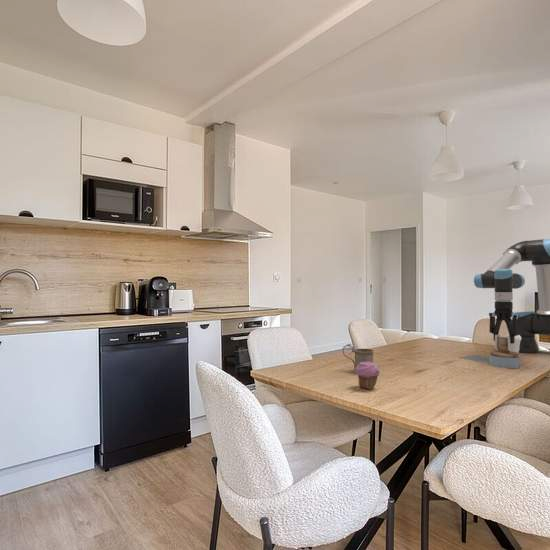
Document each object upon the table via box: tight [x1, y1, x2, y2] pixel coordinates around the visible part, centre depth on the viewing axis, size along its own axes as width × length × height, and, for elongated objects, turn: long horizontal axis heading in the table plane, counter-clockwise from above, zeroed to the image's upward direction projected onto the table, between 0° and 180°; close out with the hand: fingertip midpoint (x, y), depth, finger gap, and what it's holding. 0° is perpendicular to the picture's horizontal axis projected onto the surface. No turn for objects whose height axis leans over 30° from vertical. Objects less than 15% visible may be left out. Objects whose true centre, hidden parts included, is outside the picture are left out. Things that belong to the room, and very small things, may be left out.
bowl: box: [488, 353, 520, 370], centre depth 187 cm, size 12×12×5 cm
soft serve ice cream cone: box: [502, 330, 521, 353], centre depth 204 cm, size 8×8×16 cm
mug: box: [342, 343, 375, 374], centre depth 175 cm, size 14×10×12 cm
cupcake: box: [355, 362, 380, 391], centre depth 148 cm, size 9×9×10 cm
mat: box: [458, 354, 489, 363], centre depth 203 cm, size 14×14×1 cm
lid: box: [489, 336, 520, 358], centre depth 187 cm, size 12×12×8 cm
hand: (503, 349), depth 187 cm, fingers open, 5 cm apart
